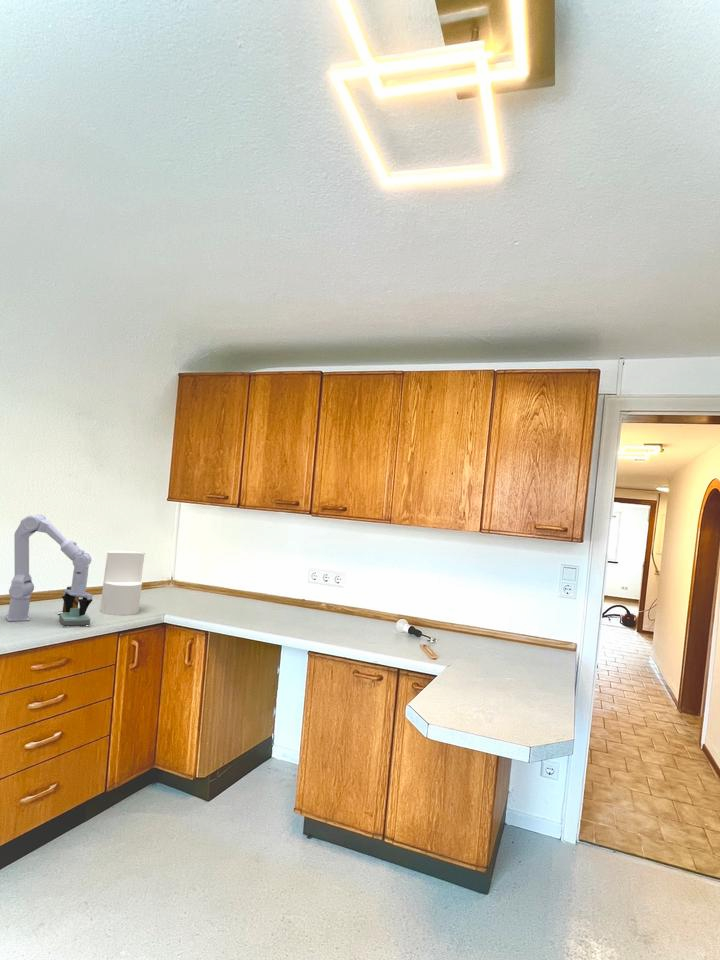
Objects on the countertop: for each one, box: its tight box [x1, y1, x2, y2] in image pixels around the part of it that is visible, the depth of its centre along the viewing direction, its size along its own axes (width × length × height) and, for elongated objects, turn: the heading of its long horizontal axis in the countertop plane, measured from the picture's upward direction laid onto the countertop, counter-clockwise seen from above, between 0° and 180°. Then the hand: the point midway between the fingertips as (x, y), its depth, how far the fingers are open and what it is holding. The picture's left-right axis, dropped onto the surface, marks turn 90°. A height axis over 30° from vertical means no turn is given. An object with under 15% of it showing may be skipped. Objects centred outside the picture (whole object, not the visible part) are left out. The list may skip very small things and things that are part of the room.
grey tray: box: [58, 615, 91, 627], centre depth 239 cm, size 12×10×2 cm
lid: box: [59, 607, 91, 621], centre depth 239 cm, size 12×10×4 cm
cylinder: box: [99, 549, 145, 616], centre depth 270 cm, size 17×17×28 cm
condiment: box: [61, 585, 80, 613], centre depth 254 cm, size 7×8×12 cm
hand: (75, 613), depth 239 cm, fingers open, 7 cm apart
